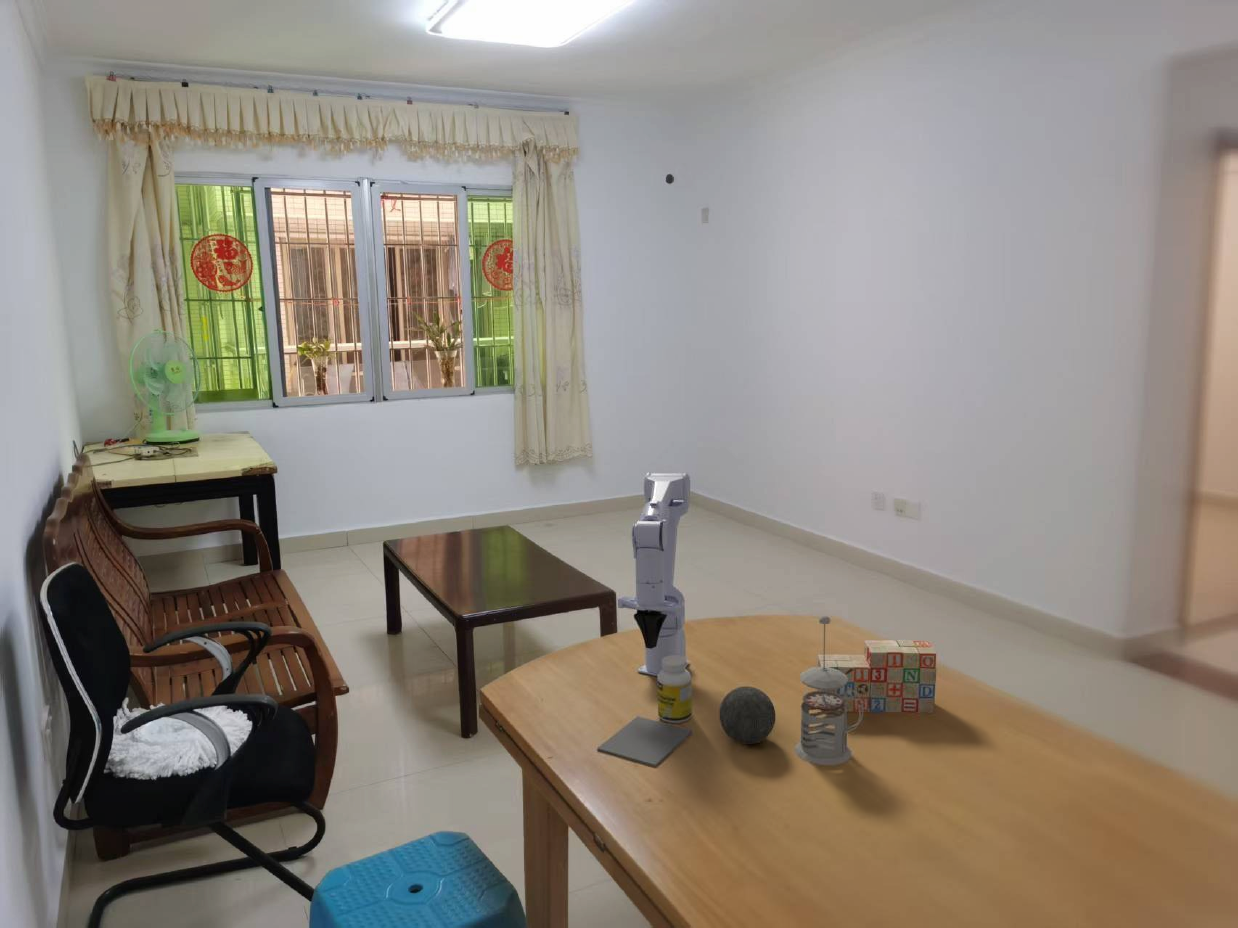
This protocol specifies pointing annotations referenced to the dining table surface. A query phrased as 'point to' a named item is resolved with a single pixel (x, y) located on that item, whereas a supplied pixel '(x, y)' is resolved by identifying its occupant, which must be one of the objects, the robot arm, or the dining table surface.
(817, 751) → the french press
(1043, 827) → the dining table surface
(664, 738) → the mat
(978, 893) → the dining table surface
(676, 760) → the dining table surface
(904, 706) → the stack of blocks
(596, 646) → the dining table surface
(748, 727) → the decorative ball
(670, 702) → the pill bottle
